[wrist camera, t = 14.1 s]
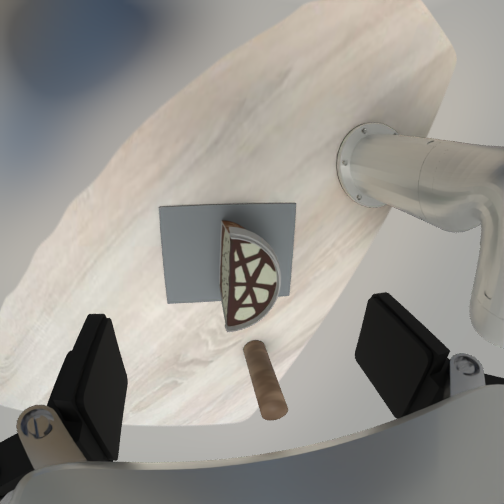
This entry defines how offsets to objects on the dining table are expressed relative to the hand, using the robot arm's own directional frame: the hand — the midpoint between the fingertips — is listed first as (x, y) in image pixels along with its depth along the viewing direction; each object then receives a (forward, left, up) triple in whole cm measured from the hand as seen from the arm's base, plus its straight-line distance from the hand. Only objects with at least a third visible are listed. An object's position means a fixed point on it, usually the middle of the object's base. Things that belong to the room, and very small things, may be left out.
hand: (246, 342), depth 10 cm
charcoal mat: (-3, +9, -30) cm, 32 cm away
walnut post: (-7, +26, -30) cm, 41 cm away
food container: (-5, +9, -30) cm, 32 cm away
